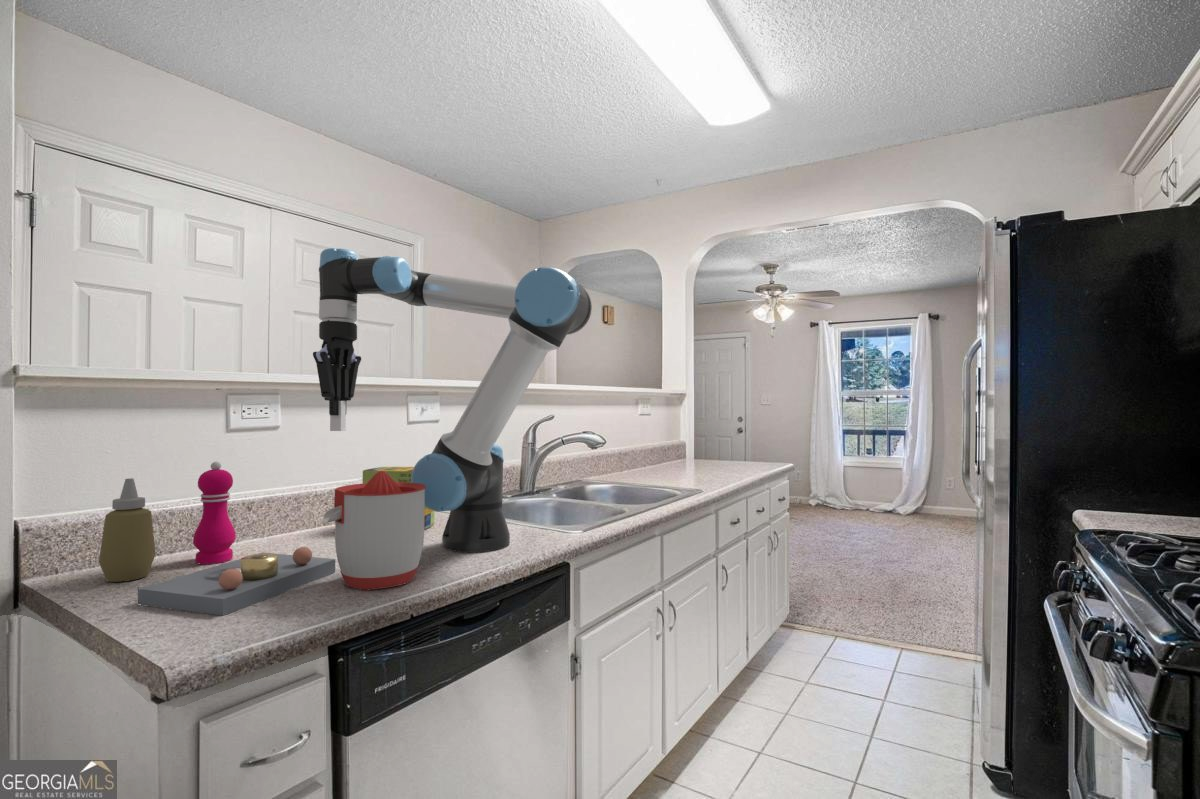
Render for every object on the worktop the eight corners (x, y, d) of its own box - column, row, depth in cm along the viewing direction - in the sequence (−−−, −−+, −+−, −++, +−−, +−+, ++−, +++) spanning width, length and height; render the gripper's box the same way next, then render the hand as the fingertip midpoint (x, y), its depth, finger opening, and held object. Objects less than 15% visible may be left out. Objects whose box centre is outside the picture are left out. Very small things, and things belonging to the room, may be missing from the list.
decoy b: (247, 587, 94) (247, 567, 94) (229, 593, 91) (230, 572, 91) (231, 585, 94) (231, 565, 94) (213, 591, 91) (213, 570, 91)
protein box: (421, 533, 145) (421, 471, 145) (360, 532, 146) (361, 470, 146) (435, 525, 156) (436, 466, 156) (379, 523, 156) (379, 465, 157)
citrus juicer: (313, 579, 106) (315, 469, 106) (409, 564, 117) (410, 464, 117) (332, 603, 94) (334, 478, 94) (438, 584, 104) (439, 471, 104)
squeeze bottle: (138, 569, 111) (140, 475, 112) (165, 575, 108) (167, 477, 109) (87, 581, 104) (90, 480, 104) (115, 587, 101) (117, 482, 101)
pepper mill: (185, 565, 114) (186, 463, 115) (204, 556, 122) (205, 460, 122) (225, 564, 116) (226, 463, 116) (241, 555, 123) (243, 459, 123)
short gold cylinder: (285, 571, 102) (285, 553, 102) (259, 580, 96) (259, 561, 96) (259, 569, 103) (259, 551, 103) (232, 578, 98) (232, 559, 98)
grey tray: (335, 572, 111) (335, 559, 111) (223, 615, 88) (223, 599, 88) (262, 565, 115) (262, 552, 115) (137, 604, 92) (137, 588, 92)
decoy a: (316, 563, 108) (316, 545, 108) (303, 567, 105) (303, 549, 105) (301, 561, 109) (301, 544, 109) (288, 566, 106) (288, 548, 106)
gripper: (332, 317, 120) (332, 432, 120) (372, 325, 132) (371, 429, 132) (301, 318, 122) (301, 431, 121) (343, 326, 134) (342, 429, 134)
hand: (337, 430), depth 127 cm, fingers closed
